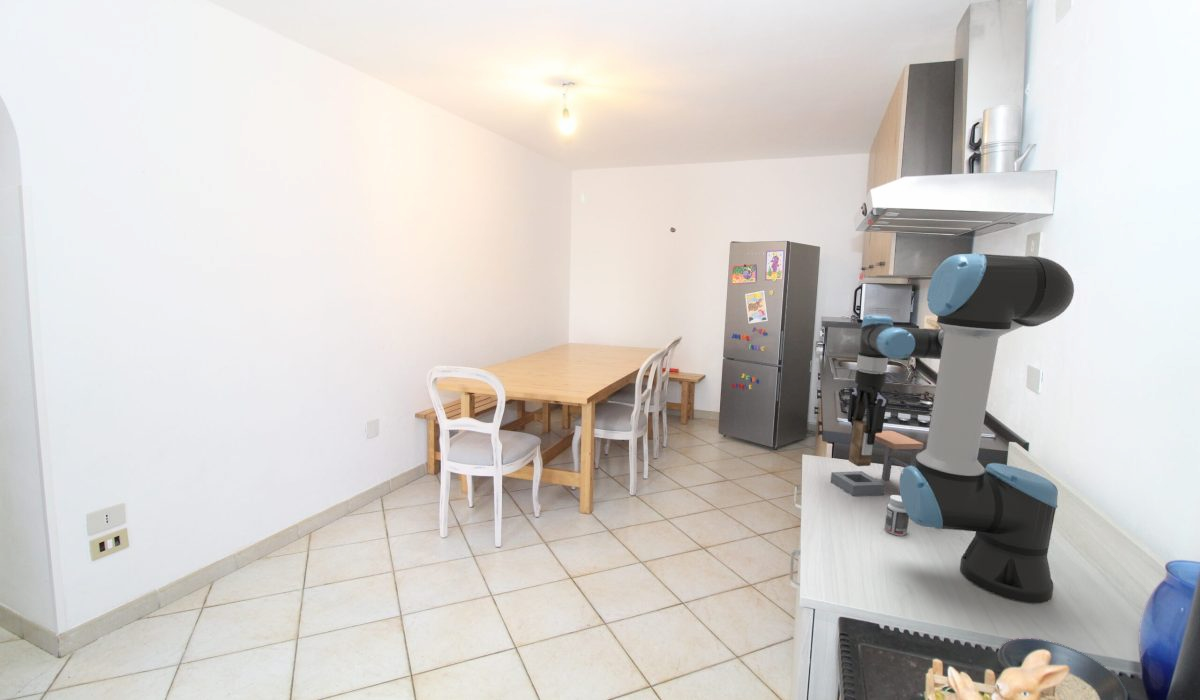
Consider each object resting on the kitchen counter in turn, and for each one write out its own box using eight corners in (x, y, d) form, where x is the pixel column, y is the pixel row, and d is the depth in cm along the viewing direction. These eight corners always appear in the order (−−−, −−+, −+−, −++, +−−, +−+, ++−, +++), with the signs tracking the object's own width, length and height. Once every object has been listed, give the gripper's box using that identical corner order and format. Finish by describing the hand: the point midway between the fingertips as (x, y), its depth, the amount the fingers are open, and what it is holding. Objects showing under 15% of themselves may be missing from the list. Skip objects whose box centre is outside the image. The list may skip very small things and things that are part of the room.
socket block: (884, 494, 153) (885, 484, 152) (852, 496, 151) (853, 485, 150) (860, 480, 162) (861, 471, 162) (830, 481, 160) (831, 472, 160)
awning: (916, 494, 154) (923, 443, 151) (888, 496, 152) (895, 444, 149) (886, 478, 165) (892, 430, 163) (859, 479, 163) (865, 431, 161)
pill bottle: (909, 531, 131) (913, 498, 129) (903, 538, 127) (908, 504, 126) (887, 524, 134) (892, 492, 133) (881, 530, 130) (886, 497, 129)
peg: (870, 465, 154) (875, 424, 152) (857, 466, 153) (862, 424, 151) (860, 460, 158) (865, 420, 156) (848, 461, 157) (853, 420, 155)
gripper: (905, 377, 144) (893, 462, 148) (862, 365, 160) (853, 441, 164) (880, 377, 142) (869, 463, 146) (839, 365, 159) (830, 442, 162)
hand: (860, 451), depth 155 cm, fingers closed on peg, 4 cm apart
